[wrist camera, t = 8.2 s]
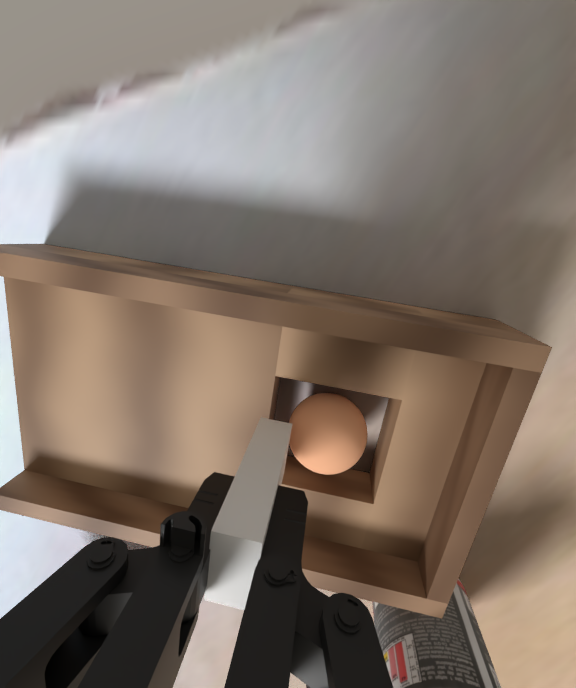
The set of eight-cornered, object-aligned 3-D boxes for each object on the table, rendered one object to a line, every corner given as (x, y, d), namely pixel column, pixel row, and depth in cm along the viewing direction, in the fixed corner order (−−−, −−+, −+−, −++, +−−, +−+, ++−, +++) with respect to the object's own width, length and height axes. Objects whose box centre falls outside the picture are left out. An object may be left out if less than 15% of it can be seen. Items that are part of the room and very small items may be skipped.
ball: (285, 436, 20) (278, 484, 16) (296, 374, 19) (292, 410, 15) (352, 449, 20) (362, 499, 16) (369, 387, 19) (383, 426, 15)
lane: (58, 458, 23) (-6, 508, 19) (43, 243, 19) (-45, 244, 14) (420, 541, 21) (442, 618, 17) (496, 320, 17) (551, 347, 12)
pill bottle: (353, 592, 23) (364, 840, 13) (404, 538, 21) (459, 780, 12) (427, 634, 23) (488, 908, 14) (484, 584, 21) (600, 859, 12)
